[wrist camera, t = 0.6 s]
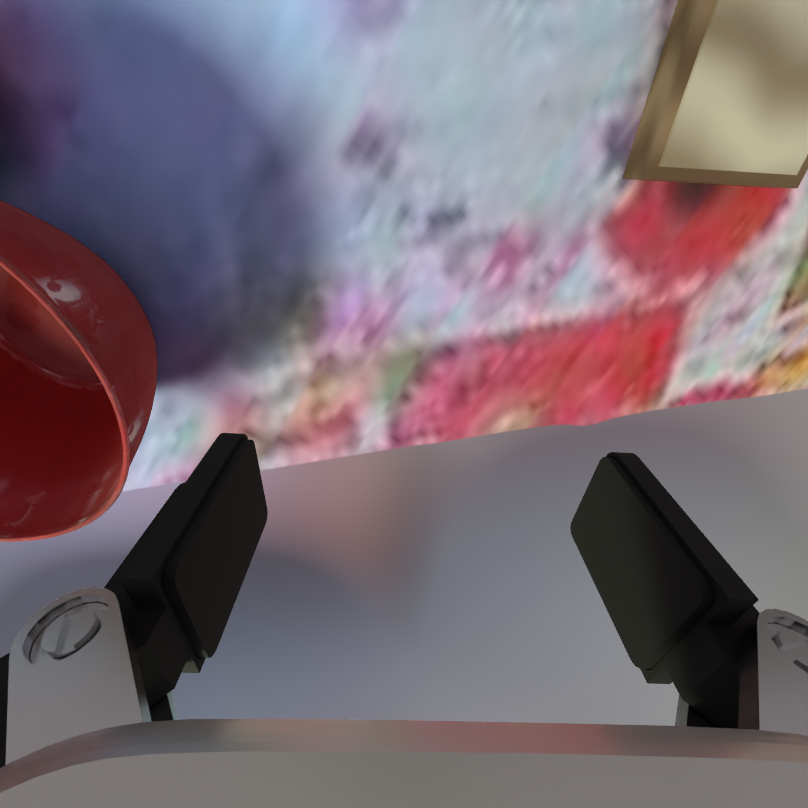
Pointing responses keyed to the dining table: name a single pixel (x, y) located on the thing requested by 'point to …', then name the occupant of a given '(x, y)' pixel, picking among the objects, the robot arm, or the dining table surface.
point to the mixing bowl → (66, 380)
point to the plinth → (728, 97)
